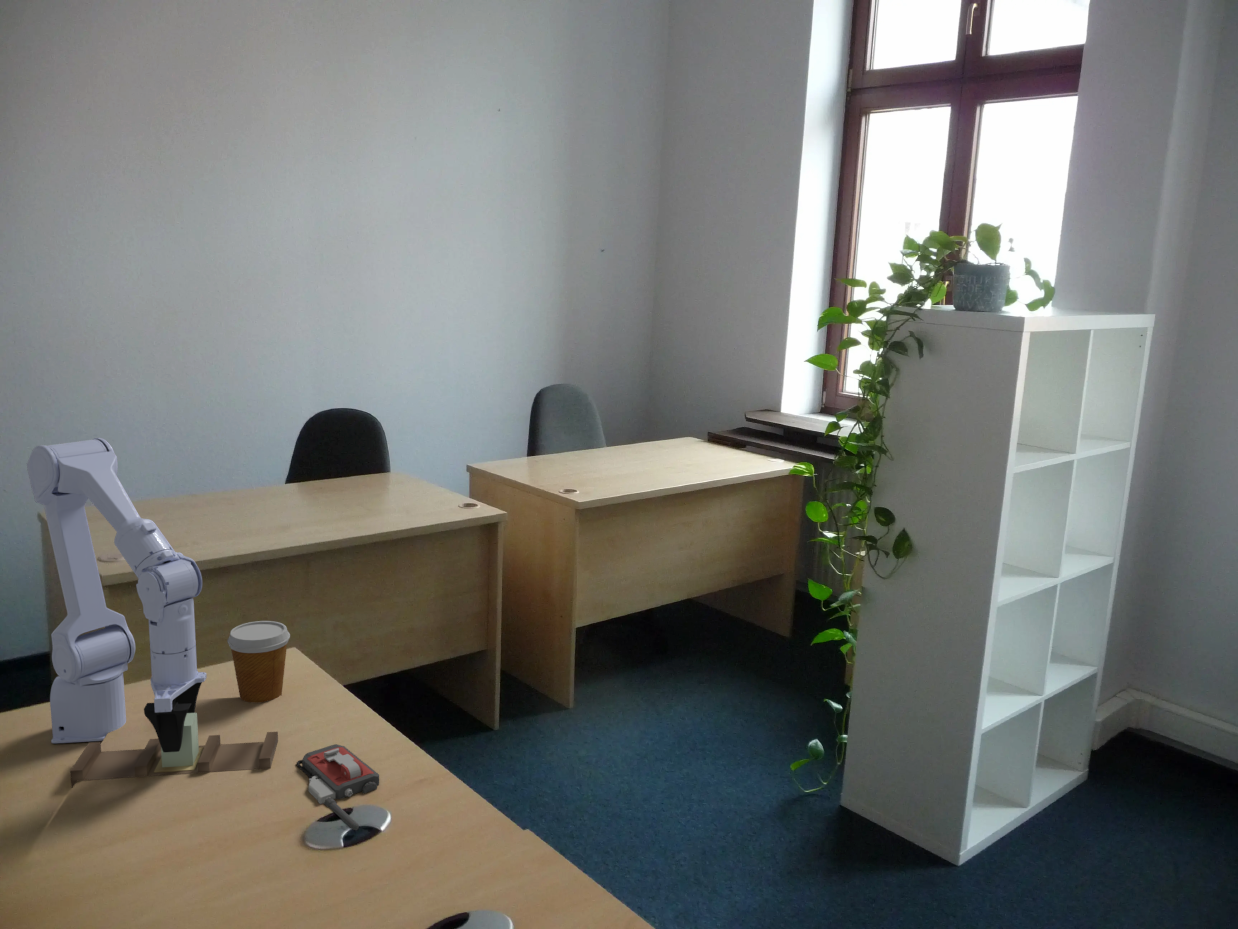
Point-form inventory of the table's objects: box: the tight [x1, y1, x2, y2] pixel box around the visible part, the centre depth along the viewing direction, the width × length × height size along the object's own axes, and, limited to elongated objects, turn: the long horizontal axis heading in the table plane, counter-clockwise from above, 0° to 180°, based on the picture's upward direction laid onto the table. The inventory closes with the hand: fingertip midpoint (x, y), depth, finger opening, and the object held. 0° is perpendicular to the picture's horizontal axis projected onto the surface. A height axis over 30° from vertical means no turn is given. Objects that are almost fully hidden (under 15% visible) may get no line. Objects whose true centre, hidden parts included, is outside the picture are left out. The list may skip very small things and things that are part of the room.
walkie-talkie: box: [296, 743, 380, 831], centre depth 131 cm, size 9×4×20 cm
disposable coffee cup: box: [227, 620, 291, 704], centre depth 158 cm, size 10×10×12 cm
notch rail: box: [69, 731, 279, 789], centre depth 137 cm, size 26×8×2 cm, turn 102°
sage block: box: [161, 712, 200, 767], centre depth 136 cm, size 4×4×6 cm
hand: (178, 737), depth 136 cm, fingers open, 7 cm apart
